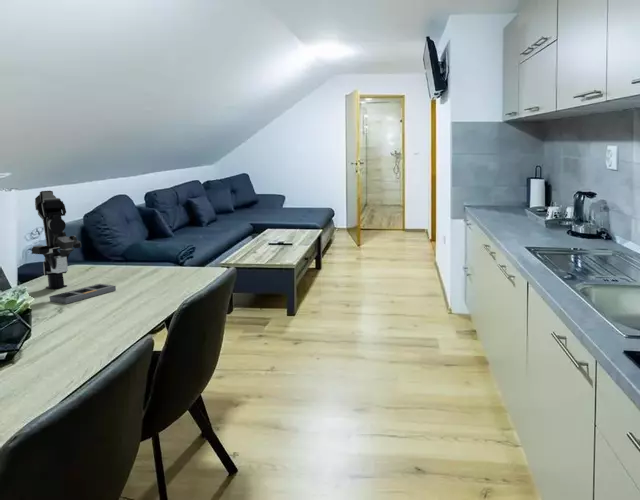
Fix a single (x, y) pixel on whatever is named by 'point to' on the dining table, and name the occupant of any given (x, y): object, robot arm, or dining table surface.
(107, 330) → the dining table surface
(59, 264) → the steel block
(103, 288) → the grey slotted frame
